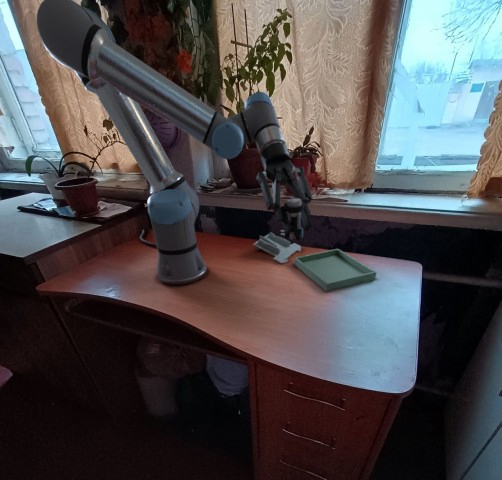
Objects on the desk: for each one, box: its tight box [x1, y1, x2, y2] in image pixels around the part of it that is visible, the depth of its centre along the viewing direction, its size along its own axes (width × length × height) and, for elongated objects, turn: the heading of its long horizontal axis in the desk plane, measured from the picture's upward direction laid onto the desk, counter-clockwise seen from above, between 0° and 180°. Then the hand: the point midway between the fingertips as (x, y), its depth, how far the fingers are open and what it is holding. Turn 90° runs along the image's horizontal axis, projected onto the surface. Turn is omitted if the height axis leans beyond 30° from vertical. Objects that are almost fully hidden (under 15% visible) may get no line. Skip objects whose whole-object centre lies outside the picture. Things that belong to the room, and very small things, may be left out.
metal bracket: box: [252, 231, 302, 264], centre depth 107 cm, size 14×6×15 cm
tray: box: [293, 248, 377, 292], centre depth 94 cm, size 19×16×2 cm
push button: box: [280, 197, 305, 241], centre depth 84 cm, size 7×5×10 cm
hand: (298, 229), depth 82 cm, fingers closed on push button, 5 cm apart
